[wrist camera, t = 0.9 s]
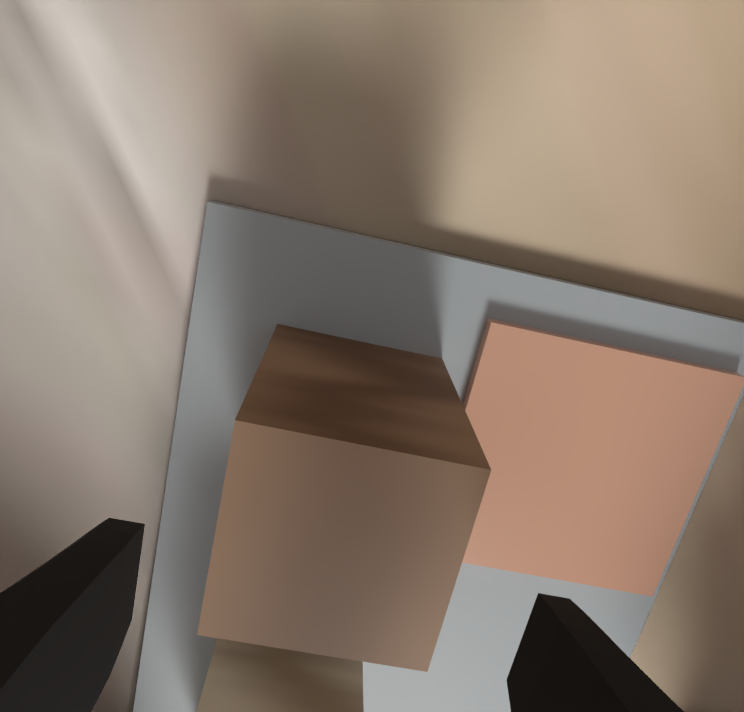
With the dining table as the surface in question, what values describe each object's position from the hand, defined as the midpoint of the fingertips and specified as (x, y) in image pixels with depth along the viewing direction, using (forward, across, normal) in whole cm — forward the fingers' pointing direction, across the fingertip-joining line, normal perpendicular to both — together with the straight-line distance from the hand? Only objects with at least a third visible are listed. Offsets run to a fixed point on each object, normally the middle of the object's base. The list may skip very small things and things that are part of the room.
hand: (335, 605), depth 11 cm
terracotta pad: (+8, -8, 0) cm, 11 cm away
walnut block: (+8, 0, 0) cm, 8 cm away
